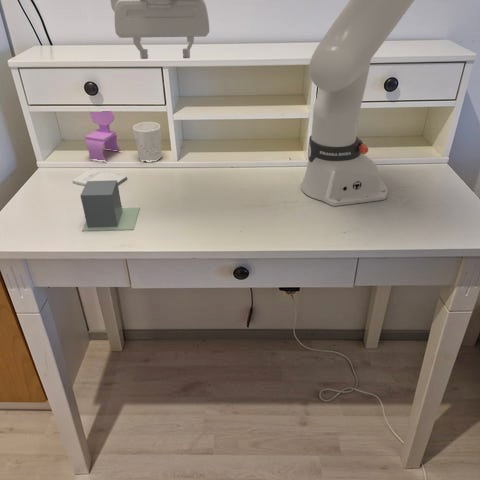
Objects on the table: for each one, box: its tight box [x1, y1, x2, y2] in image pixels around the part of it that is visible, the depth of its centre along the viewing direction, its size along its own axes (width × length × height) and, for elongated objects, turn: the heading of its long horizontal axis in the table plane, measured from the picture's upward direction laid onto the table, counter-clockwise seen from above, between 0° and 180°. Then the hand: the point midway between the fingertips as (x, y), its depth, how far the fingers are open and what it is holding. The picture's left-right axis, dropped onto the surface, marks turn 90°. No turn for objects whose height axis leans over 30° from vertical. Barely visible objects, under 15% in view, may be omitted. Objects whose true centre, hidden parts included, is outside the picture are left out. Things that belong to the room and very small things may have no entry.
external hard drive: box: [71, 168, 128, 187], centre depth 130 cm, size 2×8×12 cm
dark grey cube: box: [80, 180, 123, 228], centre depth 110 cm, size 7×7×9 cm
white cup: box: [132, 121, 163, 161], centre depth 139 cm, size 8×8×10 cm
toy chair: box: [84, 110, 122, 161], centre depth 139 cm, size 8×9×15 cm
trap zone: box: [81, 207, 141, 232], centre depth 113 cm, size 12×10×1 cm
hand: (165, 58), depth 105 cm, fingers open, 8 cm apart
